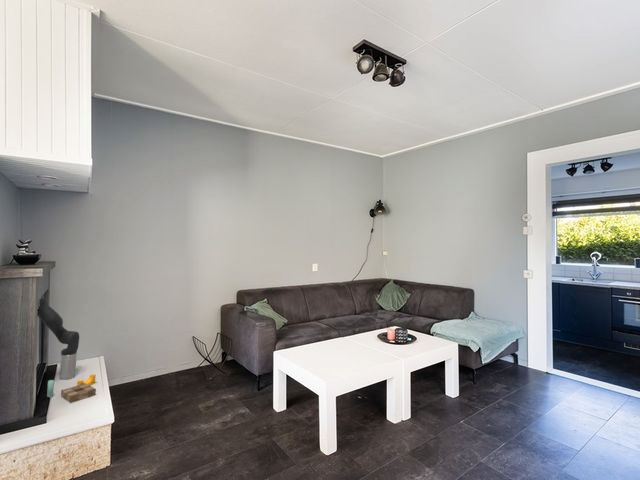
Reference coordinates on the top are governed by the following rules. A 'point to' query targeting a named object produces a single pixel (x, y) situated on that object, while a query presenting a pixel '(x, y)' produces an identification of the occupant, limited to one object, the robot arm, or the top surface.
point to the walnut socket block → (78, 393)
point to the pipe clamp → (89, 381)
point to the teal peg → (50, 388)
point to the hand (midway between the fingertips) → (32, 376)
